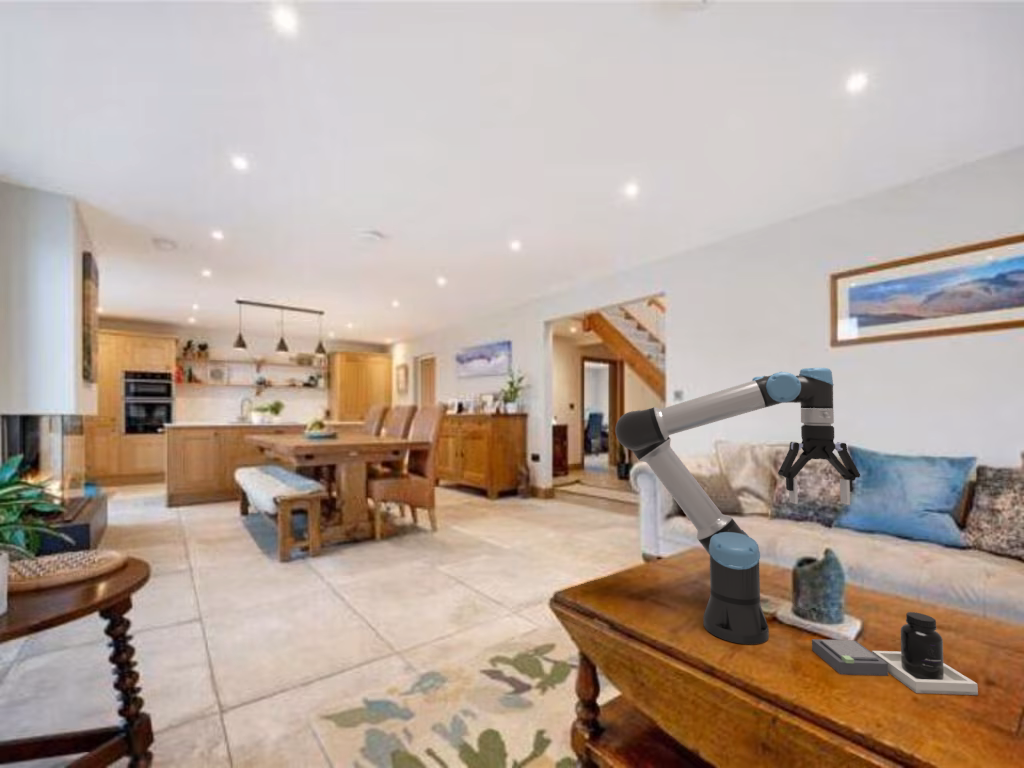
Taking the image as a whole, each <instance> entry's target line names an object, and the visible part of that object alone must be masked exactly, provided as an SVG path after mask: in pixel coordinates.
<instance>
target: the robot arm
mask: <svg viewBox="0 0 1024 768" xmlns="http://www.w3.org/2000/svg"><path fill="white" fill-rule="evenodd" d="M834 385H835V384H834V380H833V372H832V370H831V369H830V368H828V367H807V368H802V369H800V370H799V374H798V375H795V374H793V373H791V372H787V371H779V372H775V373H773V374H771V375H768V376H766V375H761V376H755V377H753V378H752V380H751V381H748V382H745V383H741V384H738V385H735V386H732V387H729V388H726V389H722V390H719V391H715V392H712V393H708V394H705V395H703V396H699V397H696V398H692V399H690V400H686V401H682V402H679V403H677V404H672V405H670V406H666V407H663V408H659V407H656V406H654V407H651V408H648V409H642V410H640V409H639V410H634V411H633V410H632V411H628V412H625V413H624V414H623V415H621V416H620V417H619V419H618V420H617V422H616V424H615V436H616V439H617V442H619V444H620V445H622V446H623V447H624V448H626V449H628V450H630V451H632V453H633V454H634V456H635V457H636V458H637V460H638V461H639V462H644V463H646V464H647V465H648V466H649V468H650V469H651V470H652V471H653V473H654V474H655V476H656V477H657V478H658V480H659V481H660V482H661V484H662V485H663V486H664V488H665V489H666V490H667V492H668V493H669V494H670V495H671V497H672V498H673V499H674V501H675V502H676V503H677V504H678V506H679V507H680V508H681V510H682V511H683V513H684V514H685V515H686V517H687V518H688V520H689V521H690V522H691V524H692V525H693V526H694V527H695V529H696V530H697V533H696V534H697V535H696V539H697V540H698V541H699V543H700V544H701V546H702V547H703V548H704V550H705V551H706V553H707V554H708V555H709V576H710V577H709V583H710V585H709V588H710V591H709V593H710V595H709V599H708V601H707V604H706V607H705V611H704V613H703V627H704V629H705V630H706V631H707V632H708V633H710V634H711V635H713V636H715V637H717V638H719V639H721V640H724V641H727V642H731V643H735V644H741V645H759V644H763V643H766V642H767V641H768V640H769V638H770V637H769V635H770V634H769V625H768V623H767V619H766V616H765V614H764V611H763V608H762V605H761V586H760V585H761V581H760V580H761V579H760V578H761V577H760V560H761V552H760V549H759V547H760V546H759V544H758V542H757V541H756V540H755V539H754V538H752V537H750V536H749V535H748V534H747V533H746V532H745V531H744V530H743V529H741V527H740V526H739V525H738V523H737V522H736V521H735V520H734V518H733V517H732V516H731V515H727V514H723V513H722V512H721V510H720V509H719V508H718V506H717V505H716V504H715V503H714V501H713V500H712V499H711V498H710V496H709V495H708V493H707V492H706V491H705V490H704V488H703V487H702V486H701V484H700V483H699V482H698V480H697V479H696V478H695V477H694V475H693V474H692V473H691V472H690V470H689V469H688V468H687V466H686V465H685V464H684V462H683V461H682V460H681V459H680V457H679V456H678V455H677V453H676V452H675V451H674V450H673V448H672V447H671V437H670V436H671V435H674V434H678V433H682V432H684V431H689V430H691V429H695V428H698V427H702V426H706V425H709V424H713V423H717V422H719V421H723V420H727V419H730V418H734V417H737V416H740V415H744V414H748V413H750V412H754V411H757V410H762V409H764V408H769V407H773V406H776V405H779V404H784V403H794V404H795V403H797V404H798V403H799V404H800V423H801V424H802V425H801V427H800V429H801V430H800V431H801V432H800V433H801V442H800V443H799V442H796V441H790V442H789V449H788V452H787V453H786V455H785V458H784V459H783V462H782V464H781V466H780V468H779V470H778V472H777V474H778V476H780V477H783V478H785V488H786V490H787V491H788V494H789V495H788V498H789V500H788V501H789V503H791V504H794V505H798V504H799V494H798V493H799V492H798V479H797V478H795V477H796V476H797V475H798V474H799V473H800V472H801V471H802V470H803V468H804V467H805V465H807V463H808V462H810V461H811V460H826V461H828V462H829V463H830V464H831V466H832V467H833V468H834V469H835V470H836V472H837V473H839V475H840V476H841V477H842V478H839V490H840V491H839V493H840V494H839V497H840V504H843V505H847V506H848V505H849V506H851V493H850V492H853V481H855V480H856V478H857V479H858V478H860V477H861V474H860V471H859V470H858V468H857V466H856V464H855V463H854V461H853V459H852V457H851V455H850V453H849V451H848V445H847V443H846V442H838V441H837V442H836V443H835V442H834V439H835V427H834V426H833V424H835V423H834V421H835V419H834V417H835V415H834V413H835V412H834ZM800 450H802V452H801V453H800V455H799V457H798V458H797V456H798V454H799V451H800ZM835 450H836V452H837V454H838V456H839V458H840V460H841V461H840V460H839V459H838V456H837V455H836V454H835V453H834V451H835ZM796 458H797V460H796ZM842 463H843V464H842Z"/></svg>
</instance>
